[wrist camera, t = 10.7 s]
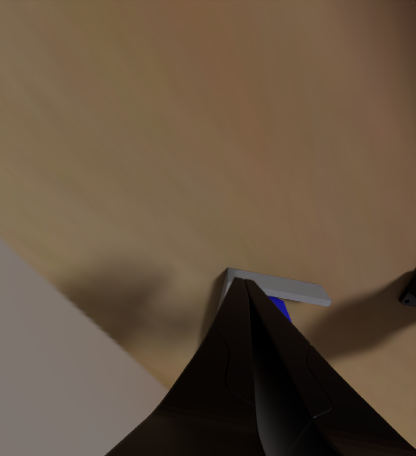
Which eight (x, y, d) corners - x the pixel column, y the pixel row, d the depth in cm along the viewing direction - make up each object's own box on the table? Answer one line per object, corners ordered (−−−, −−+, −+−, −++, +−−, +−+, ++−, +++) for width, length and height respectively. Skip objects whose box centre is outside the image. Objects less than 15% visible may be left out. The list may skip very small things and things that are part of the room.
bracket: (321, 285, 22) (332, 301, 20) (266, 394, 31) (269, 414, 29) (227, 267, 22) (228, 281, 20) (198, 381, 31) (196, 400, 29)
